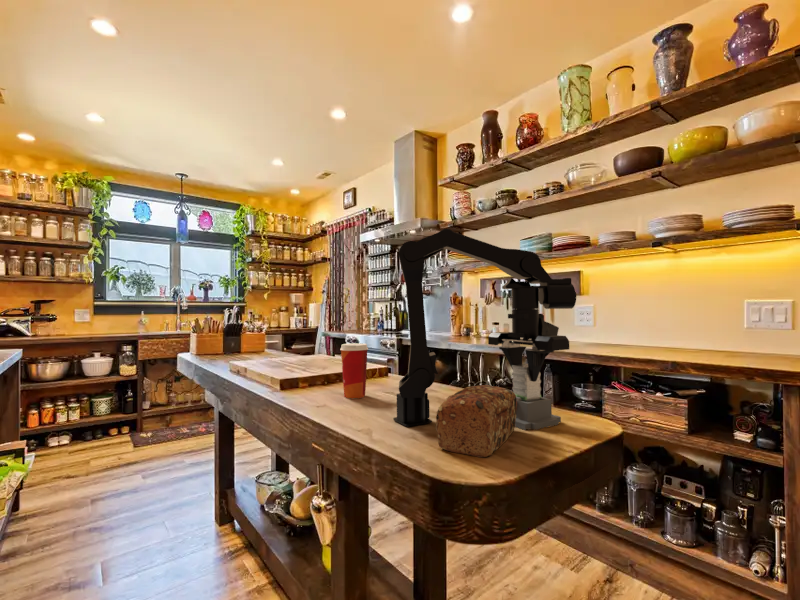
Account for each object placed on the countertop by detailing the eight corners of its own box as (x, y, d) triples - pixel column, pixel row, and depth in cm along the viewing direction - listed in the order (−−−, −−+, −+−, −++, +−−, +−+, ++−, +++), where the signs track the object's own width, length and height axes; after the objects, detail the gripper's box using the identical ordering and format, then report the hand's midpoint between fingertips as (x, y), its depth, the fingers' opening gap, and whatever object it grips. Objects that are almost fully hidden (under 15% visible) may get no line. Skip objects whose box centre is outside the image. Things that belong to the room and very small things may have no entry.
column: (525, 407, 86) (525, 367, 86) (512, 403, 89) (511, 365, 89) (541, 404, 88) (540, 365, 88) (527, 400, 91) (527, 363, 92)
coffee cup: (353, 392, 121) (353, 342, 121) (374, 395, 116) (374, 343, 117) (333, 397, 114) (333, 344, 115) (355, 401, 109) (354, 346, 110)
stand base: (528, 431, 81) (527, 403, 81) (491, 418, 90) (491, 393, 91) (564, 423, 86) (563, 397, 86) (526, 412, 96) (525, 388, 96)
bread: (491, 461, 66) (490, 400, 66) (432, 450, 71) (432, 394, 71) (519, 431, 82) (518, 382, 82) (469, 424, 87) (469, 377, 87)
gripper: (586, 308, 85) (587, 382, 84) (520, 309, 101) (521, 371, 101) (549, 309, 79) (551, 388, 79) (486, 309, 96) (487, 375, 95)
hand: (526, 379), depth 89 cm, fingers closed on column, 4 cm apart
